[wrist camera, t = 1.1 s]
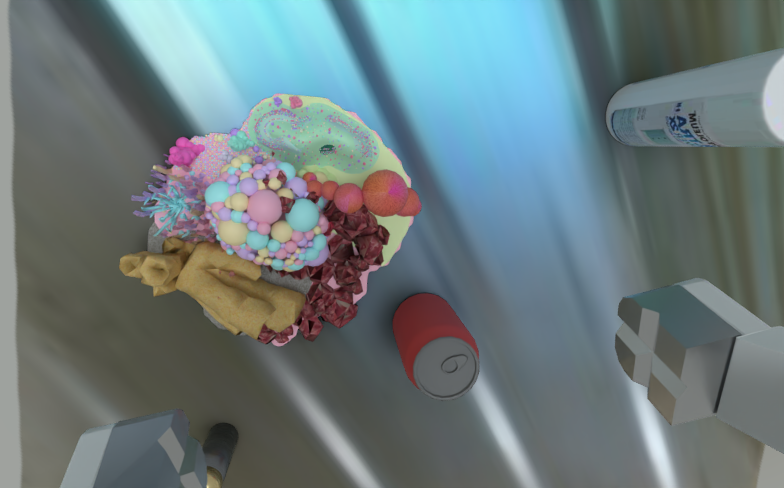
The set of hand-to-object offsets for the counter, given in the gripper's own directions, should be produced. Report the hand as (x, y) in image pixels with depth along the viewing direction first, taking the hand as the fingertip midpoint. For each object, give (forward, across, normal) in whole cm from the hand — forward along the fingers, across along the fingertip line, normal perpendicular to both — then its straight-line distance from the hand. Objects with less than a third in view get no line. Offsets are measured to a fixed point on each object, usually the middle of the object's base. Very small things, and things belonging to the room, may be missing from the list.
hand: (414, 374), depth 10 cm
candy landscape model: (+41, -6, -15) cm, 44 cm away
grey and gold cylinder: (+34, -16, -35) cm, 51 cm away
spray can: (+40, +31, -12) cm, 52 cm away
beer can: (+35, +6, -28) cm, 45 cm away
